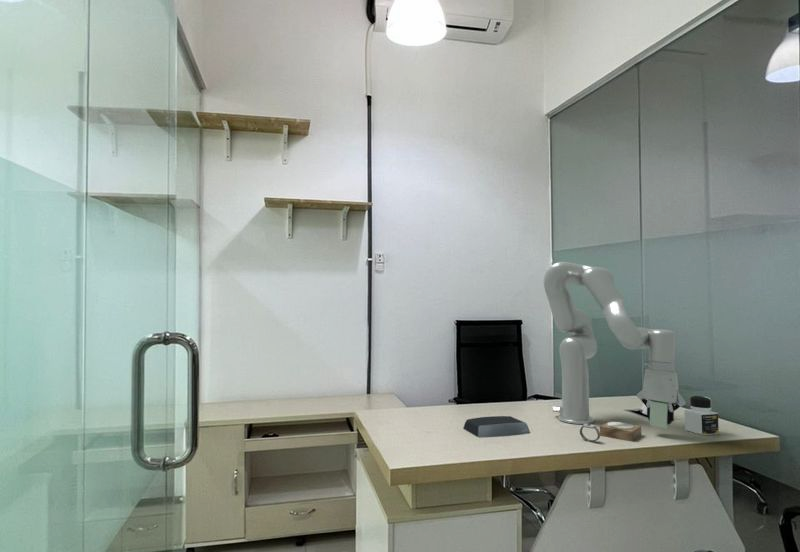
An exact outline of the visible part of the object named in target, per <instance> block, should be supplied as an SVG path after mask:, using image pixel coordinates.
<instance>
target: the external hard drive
mask: <svg viewBox="0 0 800 552" xmlns="http://www.w3.org/2000/svg"><path fill="white" fill-rule="evenodd" d="M463 430H465V431H466V432H468V433H470V434H472V435H474V436H475V437H478V438H494V437H495V438H497V437H507V436H517V435H525V434H531V431H530V429H529V426H528V423H527V422H524V421H523V420H521V419H517V418H515V417H513V416H511V415H506V416H504V415H501V416H500V415H498V416H497V415H495V416H480V417H475V418H474V417H473V418H469V419H466V420H465V422H464V425H463Z"/></svg>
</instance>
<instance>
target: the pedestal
mask: <svg viewBox="0 0 800 552" xmlns="http://www.w3.org/2000/svg"><path fill="white" fill-rule="evenodd" d="M599 432H600V437H601V436H602V437H607V438H611V439H617V440H623V441H628V442H634V441H635V440H636V439H638V438H640V437H641V436H642V426H641V425H636V424H631V423H627V422H622V421H621V422H620V421H612V420H609V421H608V422H606V423H604V424H601V425H600V426H599Z"/></svg>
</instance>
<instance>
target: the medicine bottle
mask: <svg viewBox="0 0 800 552" xmlns="http://www.w3.org/2000/svg"><path fill="white" fill-rule="evenodd" d="M689 400H690V408H687V409H684V410H683V411H684V431H686V432H687V431H688V432H691V433H694V434H697V435H699V436H700V435H701V436H710V435H718V434H719V432H720V431H719V429H720V428H719V413H718V412H716V411H712V399H711V398H710V397H707V396H702V395H693V396H690V399H689Z"/></svg>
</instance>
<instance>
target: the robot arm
mask: <svg viewBox="0 0 800 552" xmlns="http://www.w3.org/2000/svg"><path fill="white" fill-rule="evenodd" d="M614 279H615V277H614V275H613V273H612V272H611V271H610V270H609V269H608V268H604V267H599V266H590V265H586V264H585V265H584V264H579V263H575V262H568V261H558V262H555V263H553V264H552V265H551V266H549V268H548V269H547V270H546V272H545V274H544V277H543V288H544V291H545V294H546V295H545V296H546V297H547V301H548V303H549V308H550V311H551V314H552V317H553V321H554V325H555V327H556V328H557V330H558V331H559V332H561V333H564V334H565V333H566V334H568V336H567V337H565V338H563V340H562V341H561V342H560V345H559V349H558V350H559V358H560V365H561V401H562V403H561V404H562V405H561V406H557V405H556V406H555V405H553V406H552V412H553V413H558V414H559V415H558V416H557V417H558V418H557V419H558V420H559V421H560V422H563V423H566V424H567V423H568V424H574V425H584V424H591V425H592V424H594V422H595V418H594V417H593V416H590V382H589V381H590V379H589V376H590V375H589V374H590V373H589V367H588V361H587V360H590V359H591V358H593V357H594V356H595V355H596V354H597V351H598V344H597V340H596V337H595V333H594V331H593V328H592V324H591V322H590V319H589V317H588V315H587V314H586V312H585V311H584V310H582V309H580V308H575V305H574V303H573V299H572V296H571V294H570V292H569V290H568V288H567V285H574V286H577V287H579V286H580V287H584V288H586V290H587V291H588V292H589V294H590V295H591V296H592V297H593V299H594V301H595V302H596V303H597V305H598V306H599V308H600V309H601V310H602V312H603V316H604V319H605V321H606V323H607V325H608V328H609V329H610V331H611V332H612V334H613V335H614V336H615V337H616V339H617V341H618V342H619V343H620V344H621V346H623V347H624V348H626V349H628V350H630V351H634V350H635V351H636V350H642V349H644V350H645V349H648V361H645V360H644V362H643V365H644V366H647V367H648V368H646V369H645V372H644V376H643V377H644V378H643V385H642V389H641V390H640V391H639V392H638V393H637V394H636V397H637V398H638V399H639V400H640V401H641V402H642V403H643V405H644V406H645V407H646V417H647V418H648V421H650V401H652V400H653V401H659V402H665V403H668V408H669V411H668V416H667V423H668V424H670V425H671V424H672V422H674V421H675V420H674V418H675V417H674V416H675V413H674V412H675V411H677V410H678V409H679V408H681V407H683V406H685V405H686V404H687V402H686V401H685V399H684V398H683V396H682V395H681V394H680V389H679V378H678V374H677V372H676V371H675V364H676V363H675V361H676V360H675V359H676V358H675V357H676V355H675V354H676V333H675V332H674V331H673V330H668V329H660V328H659V329H653V328H652V329H651V328H647V327H642V326H636V324H634V322H633V321H632V319H631V318H630V316H629V315H628V313H627V311H626V307H625V303H626V302H625V298H624V296H623V295H622V293H621V291H619V289H618V288H617V287H616V285H615V284H614ZM676 402H678V403H676Z"/></svg>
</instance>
